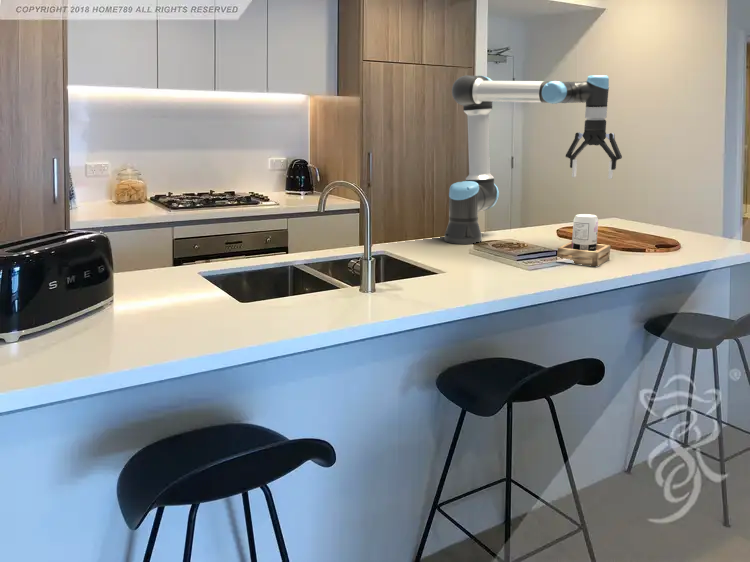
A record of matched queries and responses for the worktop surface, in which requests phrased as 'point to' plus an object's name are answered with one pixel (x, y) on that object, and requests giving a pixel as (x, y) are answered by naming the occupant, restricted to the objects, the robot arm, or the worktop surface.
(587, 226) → the supplement can
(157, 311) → the worktop surface
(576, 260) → the crate
